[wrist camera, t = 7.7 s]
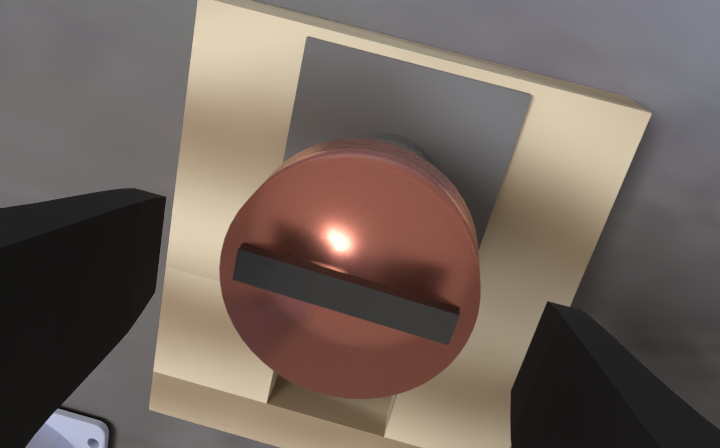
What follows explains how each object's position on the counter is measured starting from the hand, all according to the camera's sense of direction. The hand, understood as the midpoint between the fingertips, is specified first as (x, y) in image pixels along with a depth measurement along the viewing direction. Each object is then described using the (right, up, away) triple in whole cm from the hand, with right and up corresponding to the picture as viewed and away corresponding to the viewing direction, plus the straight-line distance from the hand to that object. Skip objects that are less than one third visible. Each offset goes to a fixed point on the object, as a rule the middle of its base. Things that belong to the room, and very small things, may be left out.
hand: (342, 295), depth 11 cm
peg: (+1, +3, +7) cm, 8 cm away
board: (+1, 0, +11) cm, 11 cm away
